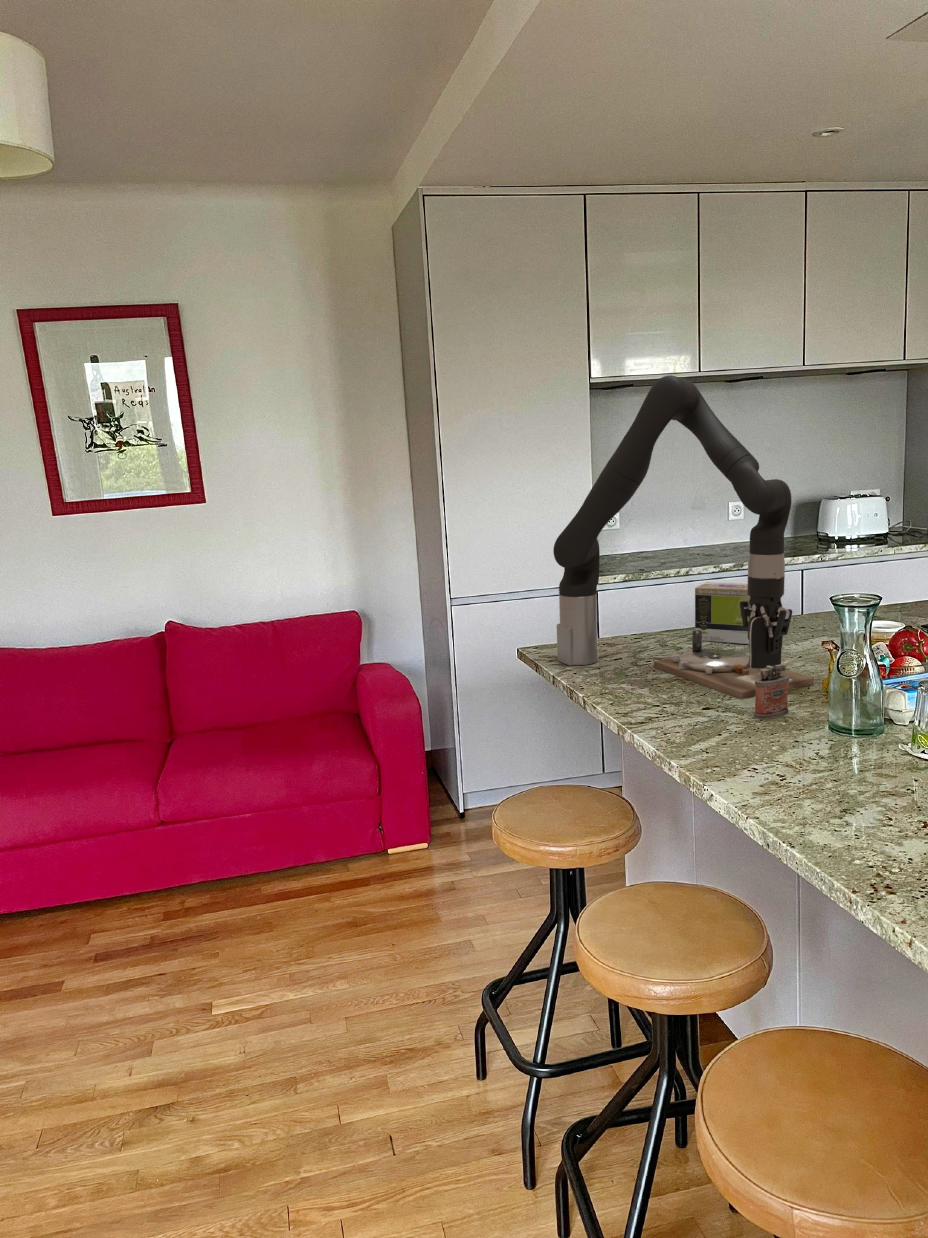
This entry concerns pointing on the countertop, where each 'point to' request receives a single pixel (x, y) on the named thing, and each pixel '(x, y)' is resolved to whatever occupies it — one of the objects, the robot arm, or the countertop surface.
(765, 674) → the lighter
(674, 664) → the board
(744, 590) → the tea box
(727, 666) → the sprocket
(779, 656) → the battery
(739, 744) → the countertop surface
